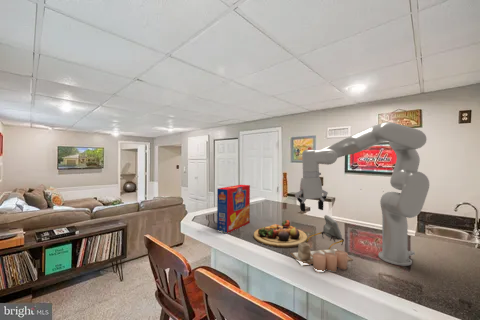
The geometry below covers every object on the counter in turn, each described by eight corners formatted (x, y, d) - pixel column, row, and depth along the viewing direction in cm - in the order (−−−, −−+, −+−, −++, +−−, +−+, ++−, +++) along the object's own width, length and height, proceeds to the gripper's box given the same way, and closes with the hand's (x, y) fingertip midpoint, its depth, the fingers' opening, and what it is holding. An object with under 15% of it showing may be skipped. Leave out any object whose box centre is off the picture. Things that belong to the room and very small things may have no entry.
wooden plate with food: (274, 225, 149) (274, 214, 149) (317, 237, 126) (317, 223, 126) (242, 238, 127) (242, 224, 126) (288, 255, 104) (287, 238, 104)
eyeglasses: (344, 246, 114) (345, 238, 114) (328, 252, 107) (328, 244, 107) (322, 237, 127) (322, 231, 127) (306, 242, 119) (306, 235, 119)
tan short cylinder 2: (331, 265, 92) (332, 251, 92) (339, 271, 87) (339, 257, 87) (321, 266, 91) (321, 252, 91) (329, 272, 86) (329, 258, 86)
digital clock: (342, 240, 122) (342, 222, 122) (326, 238, 124) (326, 220, 124) (336, 231, 138) (337, 215, 138) (322, 230, 140) (322, 214, 140)
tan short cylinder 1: (321, 266, 92) (321, 252, 92) (328, 272, 87) (328, 257, 87) (310, 267, 91) (310, 253, 91) (317, 273, 86) (317, 258, 86)
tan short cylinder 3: (342, 263, 94) (342, 249, 94) (350, 268, 90) (350, 254, 90) (332, 264, 93) (332, 250, 93) (340, 269, 88) (340, 255, 89)
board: (335, 249, 109) (335, 247, 109) (353, 260, 97) (353, 258, 97) (289, 254, 103) (289, 252, 103) (301, 266, 91) (301, 263, 91)
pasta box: (227, 234, 131) (227, 189, 131) (217, 231, 135) (217, 188, 136) (249, 223, 154) (249, 185, 155) (240, 221, 159) (240, 184, 159)
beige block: (305, 255, 100) (306, 242, 100) (310, 258, 96) (310, 245, 96) (298, 255, 99) (298, 243, 99) (302, 259, 95) (302, 246, 95)
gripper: (321, 174, 107) (322, 207, 107) (291, 175, 103) (292, 210, 103) (331, 174, 100) (332, 210, 100) (298, 176, 96) (299, 213, 96)
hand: (311, 210), depth 102 cm, fingers open, 9 cm apart
